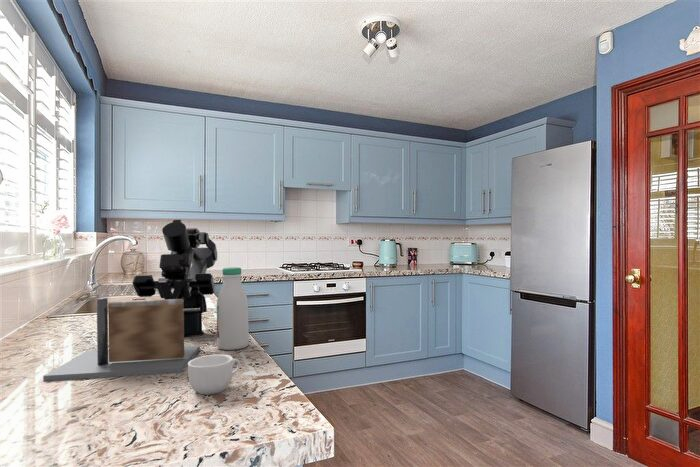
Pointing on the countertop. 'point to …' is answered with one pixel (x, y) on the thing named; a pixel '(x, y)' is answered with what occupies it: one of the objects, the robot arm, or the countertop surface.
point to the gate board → (119, 366)
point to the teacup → (211, 373)
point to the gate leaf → (146, 330)
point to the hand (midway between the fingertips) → (168, 312)
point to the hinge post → (102, 331)
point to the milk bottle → (232, 312)
